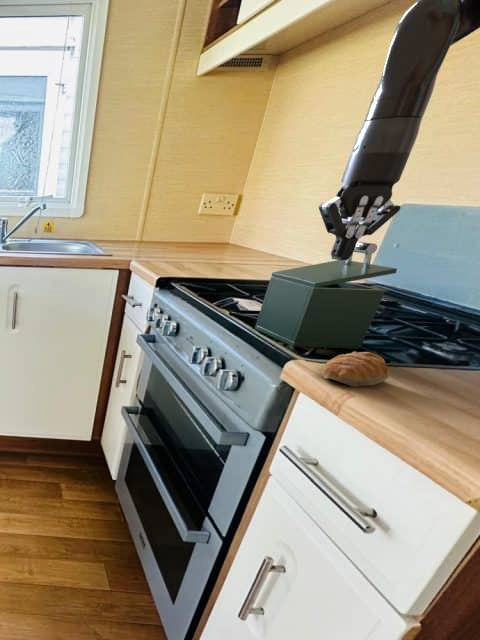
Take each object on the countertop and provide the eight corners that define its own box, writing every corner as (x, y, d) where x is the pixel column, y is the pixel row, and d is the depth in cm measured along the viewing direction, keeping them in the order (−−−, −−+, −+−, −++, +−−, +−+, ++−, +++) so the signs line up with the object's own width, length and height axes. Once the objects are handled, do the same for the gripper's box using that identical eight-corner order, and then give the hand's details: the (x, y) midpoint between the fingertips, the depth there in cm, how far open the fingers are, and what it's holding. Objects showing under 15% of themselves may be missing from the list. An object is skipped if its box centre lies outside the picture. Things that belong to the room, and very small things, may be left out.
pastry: (361, 393, 59) (372, 368, 58) (307, 377, 64) (316, 353, 63) (388, 381, 63) (399, 358, 62) (335, 367, 69) (344, 345, 67)
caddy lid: (342, 263, 83) (346, 237, 81) (396, 273, 72) (402, 243, 70) (271, 276, 84) (274, 250, 82) (314, 287, 74) (318, 259, 72)
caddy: (313, 330, 89) (333, 278, 84) (360, 348, 78) (385, 290, 74) (254, 328, 89) (270, 276, 84) (292, 346, 78) (314, 288, 74)
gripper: (359, 148, 67) (319, 261, 74) (442, 151, 67) (393, 263, 74) (323, 153, 73) (289, 255, 80) (398, 155, 74) (357, 258, 81)
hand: (339, 259), depth 77 cm, fingers closed
